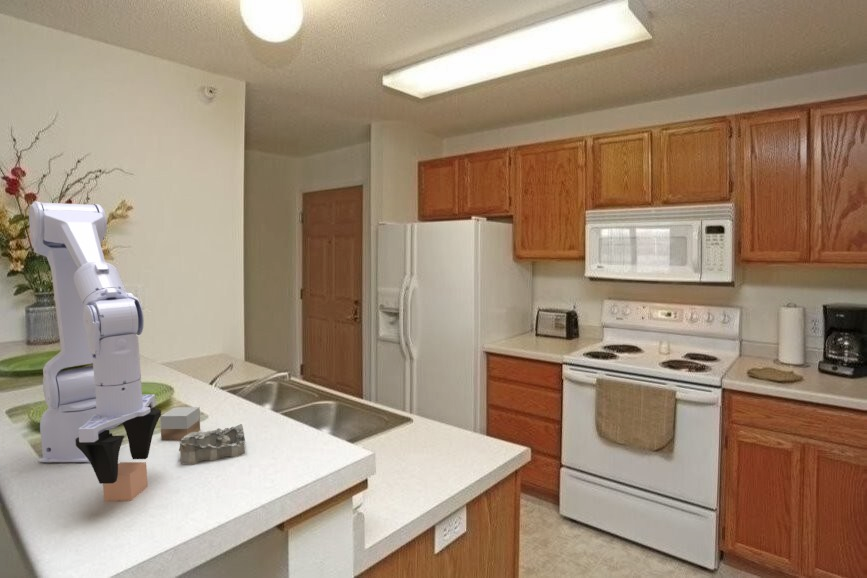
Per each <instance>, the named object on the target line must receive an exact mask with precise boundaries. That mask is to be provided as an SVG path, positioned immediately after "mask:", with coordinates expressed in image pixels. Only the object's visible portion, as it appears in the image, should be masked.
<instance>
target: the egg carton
mask: <svg viewBox="0 0 867 578" xmlns="http://www.w3.org/2000/svg"><path fill="white" fill-rule="evenodd" d="M244 432H245V431H244V427H243V424H242V423H239V424H238V425H235V426H231V427H230V428H229V427H225V428H224V429H222V428H217V429H214V430H207V431H202V432H201V431H199V432H191V433H189V434H187V435H186V436H184V437H183V438H182V439H181V440H180V443H179V449H178V452H179V453H180V461H181V462H180V463H181V464H186V465H190V466H191V465H195V464H197V463H198V462H201V461H205V460H206V461H207V460H208V461H211V462H213V461H217V460H219V459H220V458H223V457H226V456H227V457H231V458H233V457H234V458H235V457H238V456H240V454H243V453H245V452H246V451H245V443H246V439H245V438H246V437H245V433H244ZM232 443H233V444H234V443H235V444H234V445H233V444H232Z"/></svg>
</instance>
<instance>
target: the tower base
mask: <svg viewBox="0 0 867 578" xmlns="http://www.w3.org/2000/svg"><path fill="white" fill-rule="evenodd" d="M191 432H201V419H200V420H199V421H197V422H196V423H195V424H193V425H192V426H190V427H189V428H188V429H161V428H160V436H161V437H160V438H161V439H160V440H161V441H162V442H163V441H169V442H171V441H173V442H174V441H181V439H182V438H183V437H184V436H186V435H187V434H189V433H191Z"/></svg>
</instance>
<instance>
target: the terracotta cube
mask: <svg viewBox="0 0 867 578" xmlns="http://www.w3.org/2000/svg"><path fill="white" fill-rule="evenodd" d="M147 471H148V470H147V462H145V461H144V462H140V461H138V462H135V461H134V462H133V461H132V462H125V461H124V462H123V461H122V462H118V476H117V480H116V482H114V483H108V484H102V489H103V501H104V502H105V501H106V502H107V501H112V502H113V501H117V502H118V500H120V501H122V502H123V500H124V501H125V502H126V500H127V501H133V500H134V499H135V498H136V497H138V496H139V494H141V493H142V492H143V491H144V490H146V489H147V488H148V474H147V473H148V472H147ZM120 501H119V502H120Z"/></svg>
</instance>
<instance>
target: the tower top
mask: <svg viewBox="0 0 867 578" xmlns="http://www.w3.org/2000/svg"><path fill="white" fill-rule="evenodd" d="M159 420H160V430H161V429H188V428H189V427H190V426H192V425H193V424H195V423H196V422H197V421H199V420H200V421H201V408H200V407H199V406H187V407H186V406H183V407H182V406H181V407H179V406H178V407H177V406H176V407H173V408H171V409H169V410H168V411H167V412H165V413H163V414H161V416H160V418H159Z"/></svg>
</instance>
